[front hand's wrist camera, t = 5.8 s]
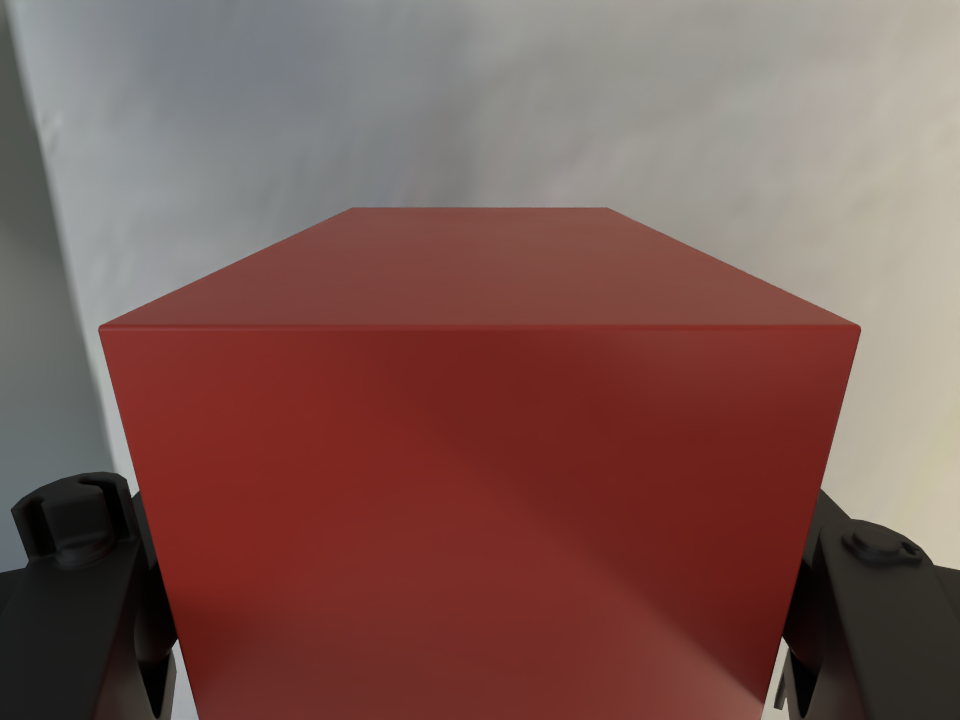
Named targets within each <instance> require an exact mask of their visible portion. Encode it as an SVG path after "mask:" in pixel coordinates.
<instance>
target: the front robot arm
mask: <svg viewBox="0 0 960 720" xmlns="http://www.w3.org/2000/svg"><path fill="white" fill-rule="evenodd" d="M11 512H12V515H13V518H14V521H15V523H16V526H17V529H18V532H19V534H20V537H21V540H22V543H23V545H24V548H25V551H26V554H27V556H28V559H29V562H28V564H27V566H26V568H22V569H17V570H12V571H7V572H2V573H0V720H171V712H172V704H173V696H174V689H175V681H176V673H177V671H176V665H175V659H174V655H173V651H172V647H173V645H174V644H175V642H176V640H177V639H178V637H177V633H176V629H175V625H174V621H173V617H172V613H171V610H170V606H169V602H168V598H167V594H166V590H165V586H164V583H163V579H162V575H161V571H160V567H159V563H158V559H157V556H156V552H155V548H154V544H153V540H152V536H151V532H150V528H149V525H148V521H147V517H146V513H145V509H144V505H143V501H142V498H141V494H140V490H139V492H138V493H137V494H136V495H135V496H134V497H133V498H131V494H130V490H129V487H128V483H127V479H125V478H124V477H122V476H121V475H119V474H117V473H109V472H93V473H83V474H79V475H75V476H71V477H67V478H63V479H60V480H57V481H55V482H52V483H50V484H47V485H45V486H42V487H40V488H38V489H36V490H35V491H33V492H32V493H30V494H28V495H26V496H25V497H23V498H22V499H21V500H20V501H19V502H18V503H17V504H16V505H15V506H14V507H13V508H12V509H11ZM782 637H783V638H784V640H785V641H786V643H787V645H788V646H789V648H788V651H787V655H786V659H785V663H784V666H783V670H782V674H781V678H780V681H779V685H778V689H777V693H776V697H775V703H774V708H776V709H779V710H782V708H783V704H784V701H785V698H786V697H787V703H788V710H789V718H790V720H960V570H956V569H951V568H946V567H941V566H936V565H933V563H932V561H931V559H930V558H929V557H928V556H927V554H926V553H925V552H924V551H923V550H922V548H921V547H919V546H918V545H916V544H915V543H914V542H912V541H911V540H909V539H908V538H907V537H905V536H904V535H901V534H899V533H897V532H895V531H893V530H891V529H889V528H886V527H884V526H881V525H878V524H874V523H871V522H867V521H864V520H856V519H851V518H850V517H849V516H848V515H847V514H846V513H845V512H844V511H843V510H842V509H841V508H840V507H839V506H838V505H837V504H836V503H835V502H834V501H833V500H832V499H831V498H830V497H829V496H828V495H827V494H826V493H825V492H824V491H823V490H822V489H821V488H820V491H819V495H818V499H817V503H816V507H815V511H814V515H813V518H812V522H811V526H810V530H809V534H808V538H807V542H806V546H805V549H804V553H803V557H802V561H801V565H800V569H799V573H798V576H797V580H796V584H795V588H794V592H793V596H792V600H791V604H790V607H789V611H788V615H787V619H786V623H785V627H784V631H783V634H782Z"/></svg>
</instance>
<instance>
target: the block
mask: <svg viewBox="0 0 960 720" xmlns="http://www.w3.org/2000/svg"><path fill="white" fill-rule="evenodd" d="M98 332H99V335H100V339H101V343H102V347H103V351H104V355H105V359H106V363H107V366H108V370H109V374H110V378H111V382H112V386H113V390H114V393H115V397H116V401H117V405H118V409H119V413H120V417H121V420H122V424H123V428H124V432H125V436H126V440H127V444H128V447H129V451H130V455H131V459H132V463H133V467H134V471H135V474H136V478H137V482H138V486H139V490H140V494H141V498H142V501H143V505H144V509H145V513H146V517H147V521H148V525H149V528H150V532H151V536H152V540H153V544H154V548H155V552H156V556H157V559H158V563H159V567H160V571H161V575H162V579H163V583H164V586H165V590H166V594H167V598H168V602H169V606H170V610H171V613H172V617H173V621H174V625H175V629H176V633H177V637H178V640H179V644H180V648H181V652H182V656H183V660H184V664H185V667H186V671H187V675H188V679H189V683H190V687H191V691H192V694H193V698H194V702H195V706H196V710H197V714H198V718H199V720H761V716H762V712H763V708H764V704H765V700H766V696H767V693H768V689H769V685H770V681H771V677H772V673H773V669H774V665H775V662H776V658H777V654H778V650H779V646H780V642H781V638H782V634H783V631H784V627H785V623H786V619H787V615H788V611H789V607H790V604H791V600H792V596H793V592H794V588H795V584H796V580H797V576H798V573H799V569H800V565H801V561H802V557H803V553H804V549H805V546H806V542H807V538H808V534H809V530H810V526H811V522H812V518H813V515H814V511H815V507H816V503H817V499H818V495H819V491H820V488H821V484H822V480H823V476H824V472H825V468H826V464H827V460H828V457H829V453H830V449H831V445H832V441H833V437H834V433H835V430H836V426H837V422H838V418H839V414H840V410H841V406H842V402H843V399H844V395H845V391H846V387H847V383H848V379H849V375H850V372H851V368H852V364H853V360H854V356H855V352H856V348H857V344H858V341H859V337H860V333H861V327H860V326H859V325H857V324H855V323H853V322H850V321H848V320H846V319H844V318H842V317H840V316H838V315H835V314H833V313H831V312H829V311H827V310H825V309H823V308H820V307H818V306H816V305H814V304H812V303H810V302H808V301H806V300H803V299H801V298H799V297H797V296H795V295H793V294H791V293H788V292H786V291H784V290H782V289H780V288H778V287H776V286H773V285H771V284H769V283H767V282H765V281H763V280H761V279H759V278H756V277H754V276H752V275H750V274H748V273H746V272H744V271H741V270H739V269H737V268H735V267H733V266H731V265H729V264H726V263H724V262H722V261H720V260H718V259H716V258H714V257H712V256H709V255H707V254H705V253H703V252H701V251H699V250H697V249H694V248H692V247H690V246H688V245H686V244H684V243H682V242H679V241H677V240H675V239H673V238H671V237H669V236H667V235H664V234H662V233H660V232H658V231H656V230H654V229H652V228H650V227H647V226H645V225H643V224H641V223H639V222H637V221H635V220H632V219H630V218H628V217H626V216H624V215H622V214H620V213H617V212H615V211H613V210H611V209H609V208H351V209H349V210H347V211H344V212H342V213H340V214H338V215H336V216H334V217H332V218H329V219H327V220H325V221H323V222H321V223H319V224H317V225H314V226H312V227H310V228H308V229H306V230H304V231H302V232H299V233H297V234H295V235H293V236H291V237H289V238H287V239H284V240H282V241H280V242H278V243H276V244H274V245H272V246H269V247H267V248H265V249H263V250H261V251H259V252H257V253H254V254H252V255H250V256H248V257H246V258H244V259H242V260H240V261H237V262H235V263H233V264H231V265H229V266H227V267H225V268H222V269H220V270H218V271H216V272H214V273H212V274H210V275H207V276H205V277H203V278H201V279H199V280H197V281H195V282H192V283H190V284H188V285H186V286H184V287H182V288H180V289H177V290H175V291H173V292H171V293H169V294H167V295H165V296H162V297H160V298H158V299H156V300H154V301H152V302H150V303H147V304H145V305H143V306H141V307H139V308H137V309H135V310H133V311H130V312H128V313H126V314H124V315H122V316H120V317H118V318H115V319H113V320H111V321H109V322H107V323H105V324H103V325H100V326H99V329H98Z"/></svg>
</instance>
